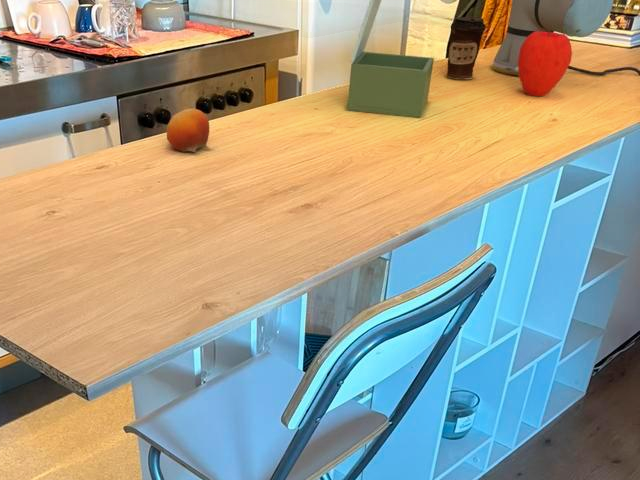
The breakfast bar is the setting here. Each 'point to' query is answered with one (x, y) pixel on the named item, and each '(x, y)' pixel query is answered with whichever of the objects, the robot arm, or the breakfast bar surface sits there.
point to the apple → (543, 61)
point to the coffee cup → (464, 46)
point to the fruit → (188, 130)
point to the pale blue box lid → (365, 28)
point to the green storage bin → (390, 84)
